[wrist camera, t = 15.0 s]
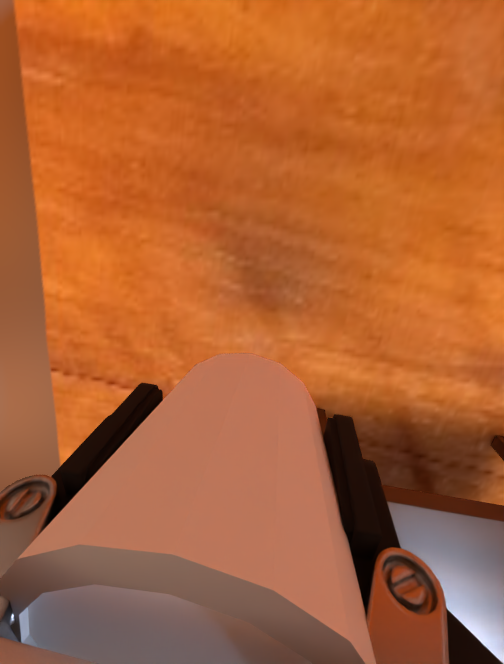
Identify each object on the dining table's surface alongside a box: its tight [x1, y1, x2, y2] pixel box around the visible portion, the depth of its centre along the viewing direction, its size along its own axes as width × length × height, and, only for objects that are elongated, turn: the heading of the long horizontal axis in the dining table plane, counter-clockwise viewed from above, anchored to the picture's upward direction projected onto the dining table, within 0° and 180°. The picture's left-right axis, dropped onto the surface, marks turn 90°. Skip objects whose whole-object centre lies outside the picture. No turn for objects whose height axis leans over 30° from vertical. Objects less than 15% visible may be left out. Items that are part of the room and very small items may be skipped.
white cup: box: [0, 353, 376, 664], centre depth 8 cm, size 7×7×7 cm
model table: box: [316, 409, 504, 664], centre depth 25 cm, size 16×18×9 cm
